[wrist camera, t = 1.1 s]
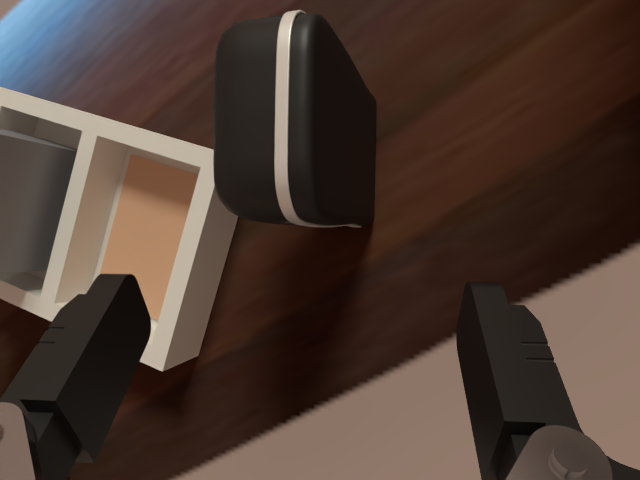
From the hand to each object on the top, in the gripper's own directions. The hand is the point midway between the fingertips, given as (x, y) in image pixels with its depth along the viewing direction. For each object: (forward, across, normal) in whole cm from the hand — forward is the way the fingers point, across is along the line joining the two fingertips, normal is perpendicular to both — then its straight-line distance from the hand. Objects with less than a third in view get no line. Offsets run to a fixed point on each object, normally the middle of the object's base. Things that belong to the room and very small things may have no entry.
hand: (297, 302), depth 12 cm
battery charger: (+14, -1, +4) cm, 15 cm away
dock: (+15, +13, +8) cm, 21 cm away
